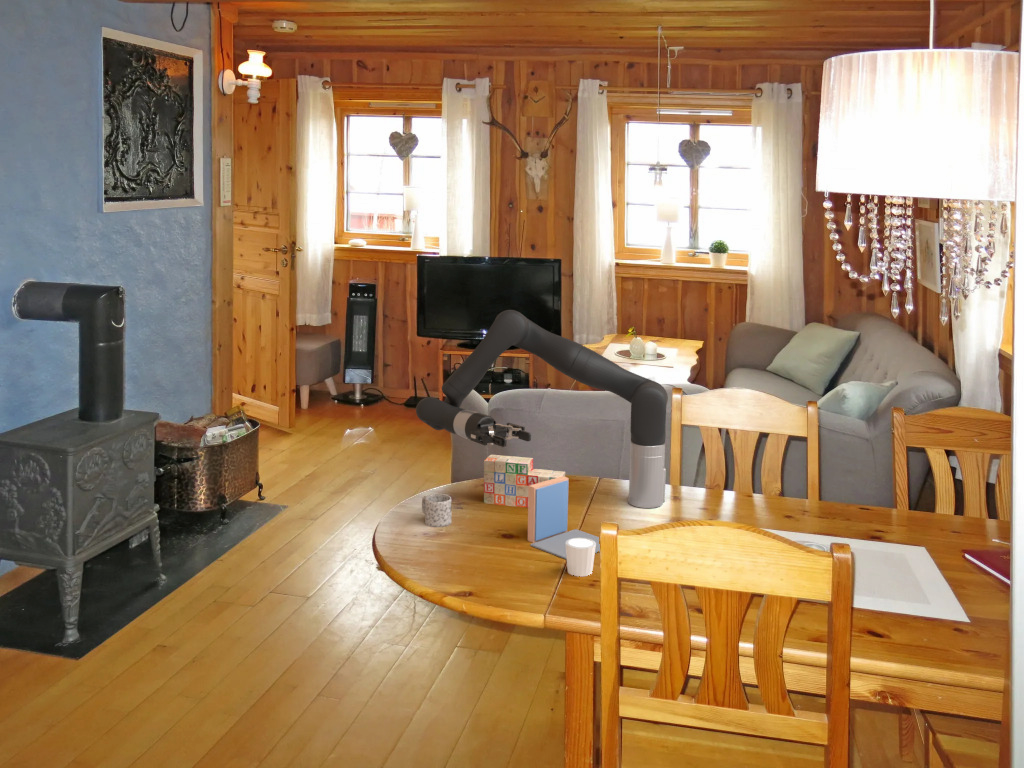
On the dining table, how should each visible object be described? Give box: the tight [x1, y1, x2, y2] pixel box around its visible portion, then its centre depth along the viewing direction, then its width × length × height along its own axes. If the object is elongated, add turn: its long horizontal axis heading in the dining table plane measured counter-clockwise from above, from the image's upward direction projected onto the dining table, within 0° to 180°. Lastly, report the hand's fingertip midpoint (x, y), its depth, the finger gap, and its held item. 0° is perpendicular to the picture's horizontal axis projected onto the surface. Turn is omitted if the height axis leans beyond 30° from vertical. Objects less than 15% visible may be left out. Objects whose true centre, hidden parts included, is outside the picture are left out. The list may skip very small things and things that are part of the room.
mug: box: [421, 493, 452, 528], centre depth 265 cm, size 10×7×7 cm
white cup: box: [566, 538, 596, 578], centre depth 233 cm, size 7×7×7 cm
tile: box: [527, 476, 570, 544], centre depth 254 cm, size 12×2×14 cm, turn 133°
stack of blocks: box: [483, 454, 566, 508], centre depth 279 cm, size 21×6×12 cm, turn 74°
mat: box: [530, 528, 601, 561], centre depth 249 cm, size 16×14×1 cm
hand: (517, 440), depth 259 cm, fingers open, 8 cm apart
